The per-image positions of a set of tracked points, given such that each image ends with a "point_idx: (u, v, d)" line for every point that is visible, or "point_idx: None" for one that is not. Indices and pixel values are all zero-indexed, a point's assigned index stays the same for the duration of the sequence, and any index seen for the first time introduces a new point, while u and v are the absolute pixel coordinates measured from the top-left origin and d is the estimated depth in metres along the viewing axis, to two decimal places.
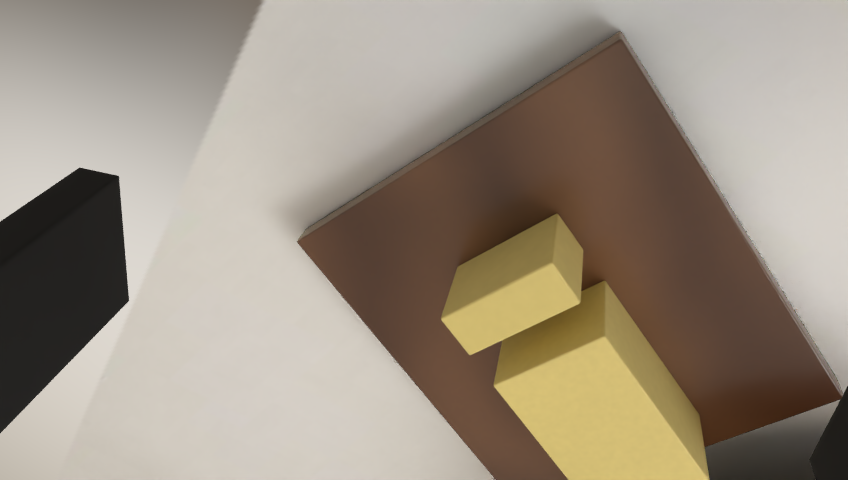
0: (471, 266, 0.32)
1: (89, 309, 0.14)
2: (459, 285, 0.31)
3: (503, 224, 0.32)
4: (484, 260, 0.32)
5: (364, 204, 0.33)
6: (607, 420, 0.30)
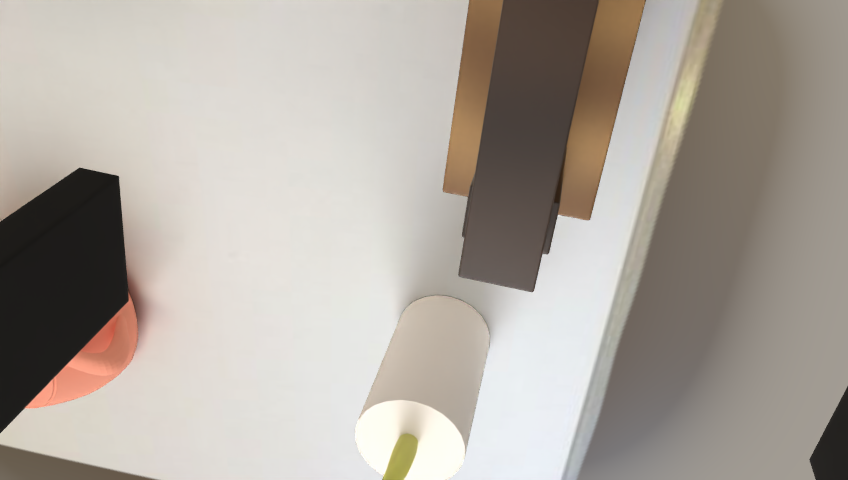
0: None
1: (89, 309, 0.14)
2: None
3: None
4: None
5: None
6: None
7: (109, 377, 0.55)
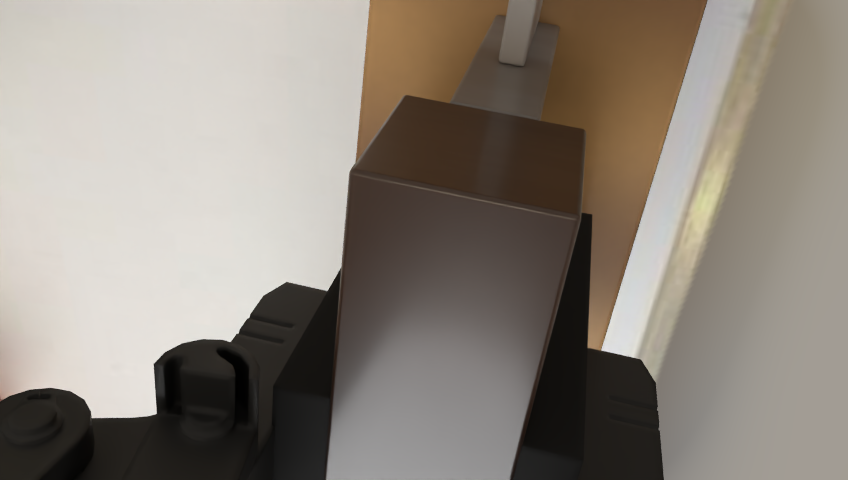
0: None
1: None
2: None
3: None
4: None
5: None
6: None
7: None
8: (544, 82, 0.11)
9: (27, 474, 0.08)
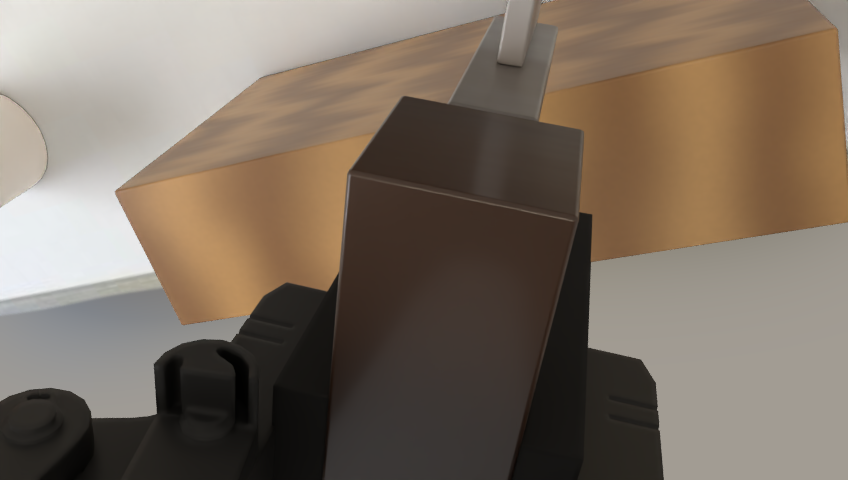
0: None
1: None
2: None
3: None
4: None
5: None
6: None
7: None
8: (542, 83, 0.11)
9: (27, 474, 0.08)
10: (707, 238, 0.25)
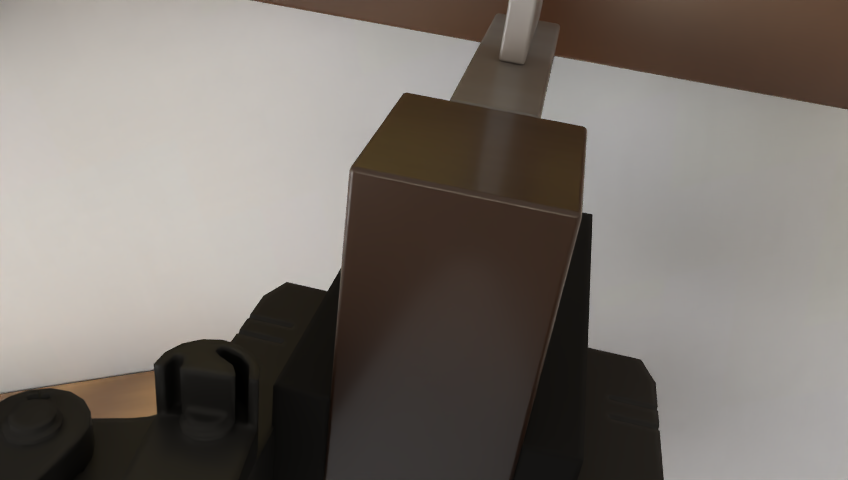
0: None
1: None
2: None
3: None
4: None
5: None
6: None
7: None
8: (544, 80, 0.11)
9: (27, 474, 0.08)
10: None
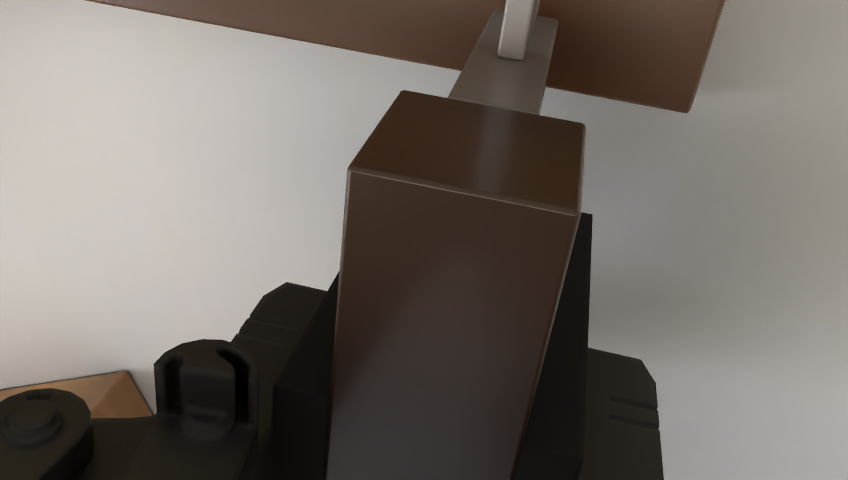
0: None
1: None
2: None
3: None
4: None
5: None
6: None
7: None
8: (543, 76, 0.11)
9: (27, 474, 0.08)
10: None
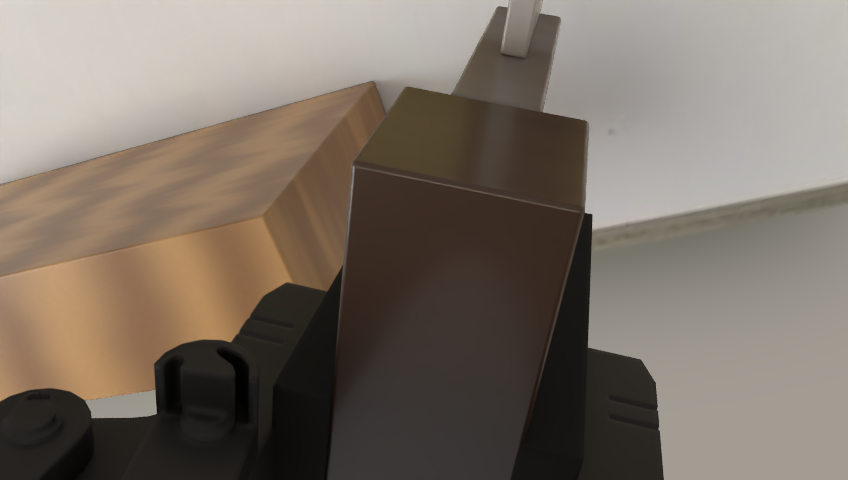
0: None
1: None
2: None
3: None
4: None
5: None
6: None
7: None
8: (546, 74, 0.11)
9: (27, 474, 0.08)
10: None
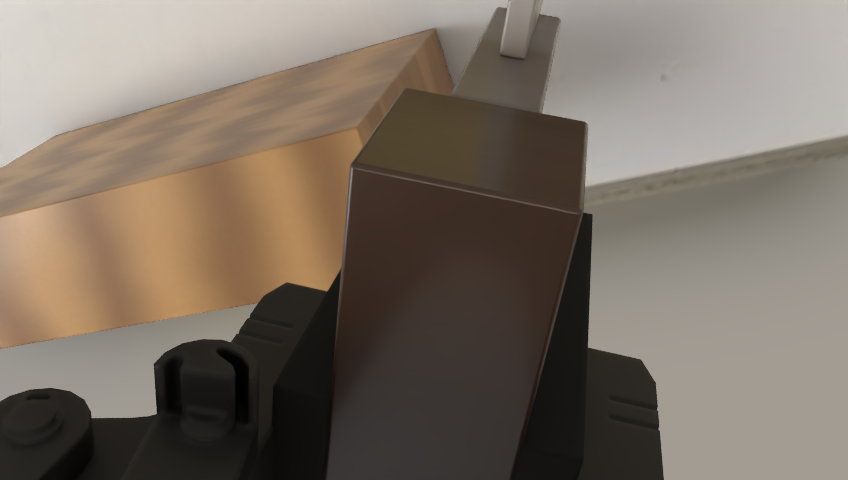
0: None
1: None
2: None
3: None
4: None
5: None
6: None
7: None
8: (545, 75, 0.11)
9: (27, 474, 0.08)
10: None
